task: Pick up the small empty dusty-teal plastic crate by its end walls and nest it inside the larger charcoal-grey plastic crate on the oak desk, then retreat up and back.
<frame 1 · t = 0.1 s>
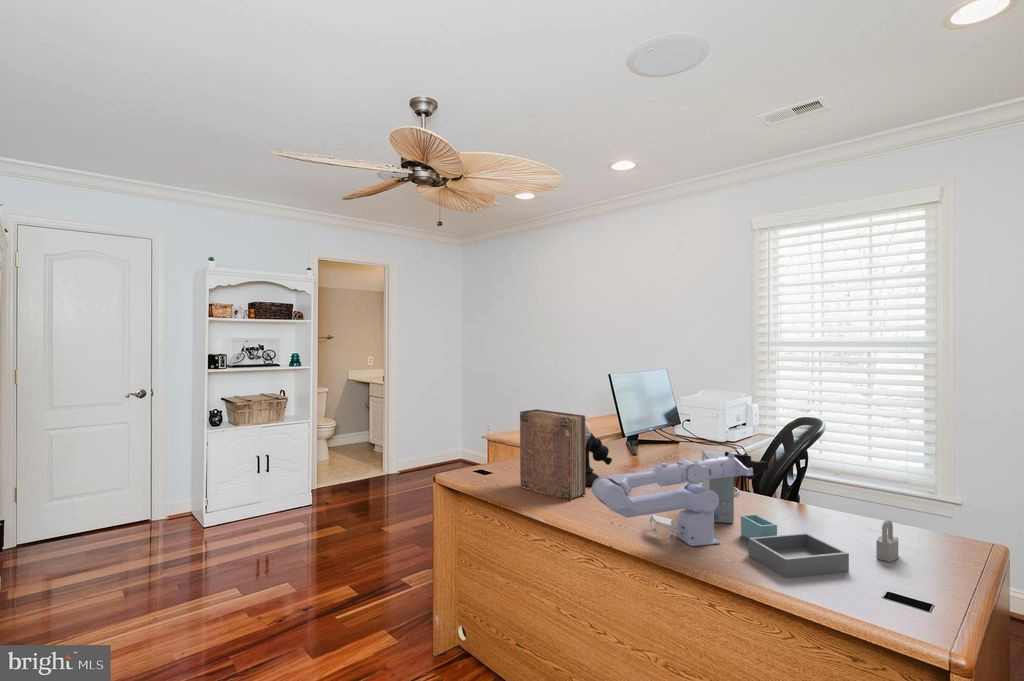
hand: (758, 462, 154), 22 cm above the table, tool horizontal, fingers open, 7 cm apart
hard drive box: (717, 516, 171), on the table
book: (552, 492, 198), on the table
grey crate: (796, 562, 135), on the table
sculpture: (590, 480, 214), on the table
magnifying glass: (701, 496, 194), on the table
padlock: (887, 558, 138), on the table
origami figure: (662, 536, 154), on the table
teal mini crate: (758, 540, 149), on the table
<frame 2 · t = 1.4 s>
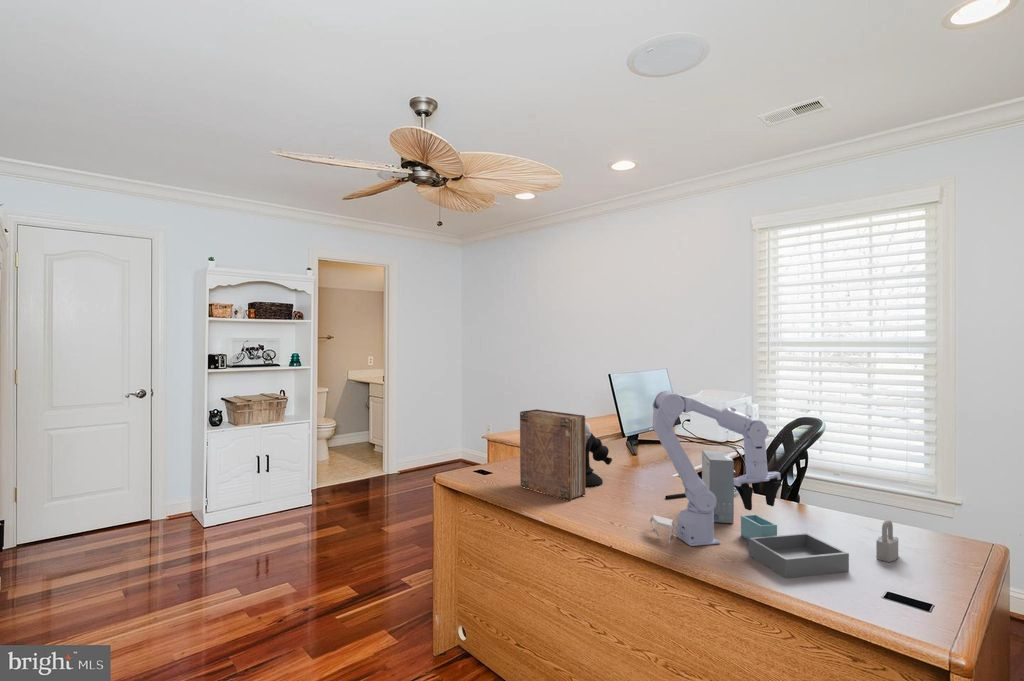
hand: (759, 507, 150), 10 cm above the table, tool pointing down, fingers open, 7 cm apart
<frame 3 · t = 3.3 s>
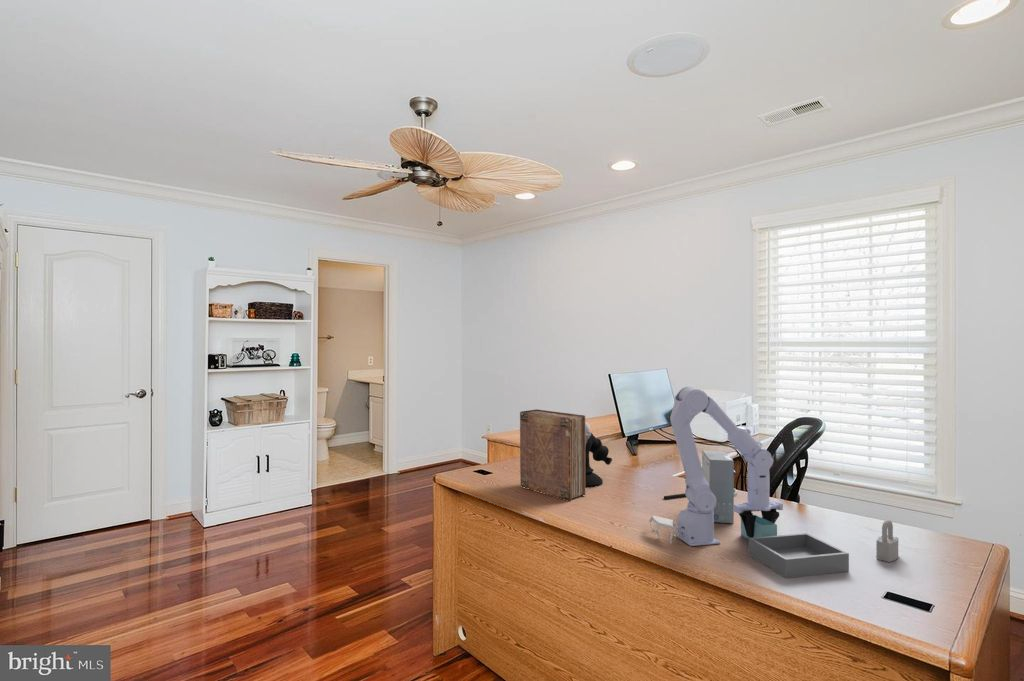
hand: (758, 535, 149), 1 cm above the table, tool pointing down, fingers closed on teal mini crate, 5 cm apart
teal mini crate: (758, 540, 149), on the table, touching gripper
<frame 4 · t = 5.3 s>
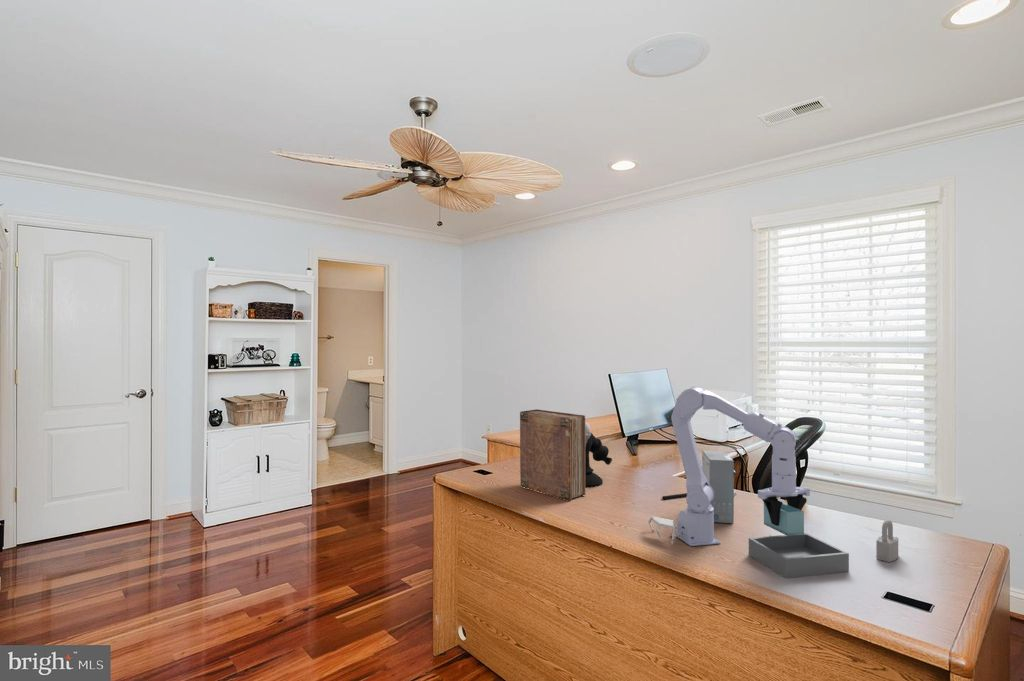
hand: (784, 523, 139), 9 cm above the table, tool pointing down, fingers closed on teal mini crate, 5 cm apart
teal mini crate: (783, 529, 140), point 7 cm above the table, touching gripper
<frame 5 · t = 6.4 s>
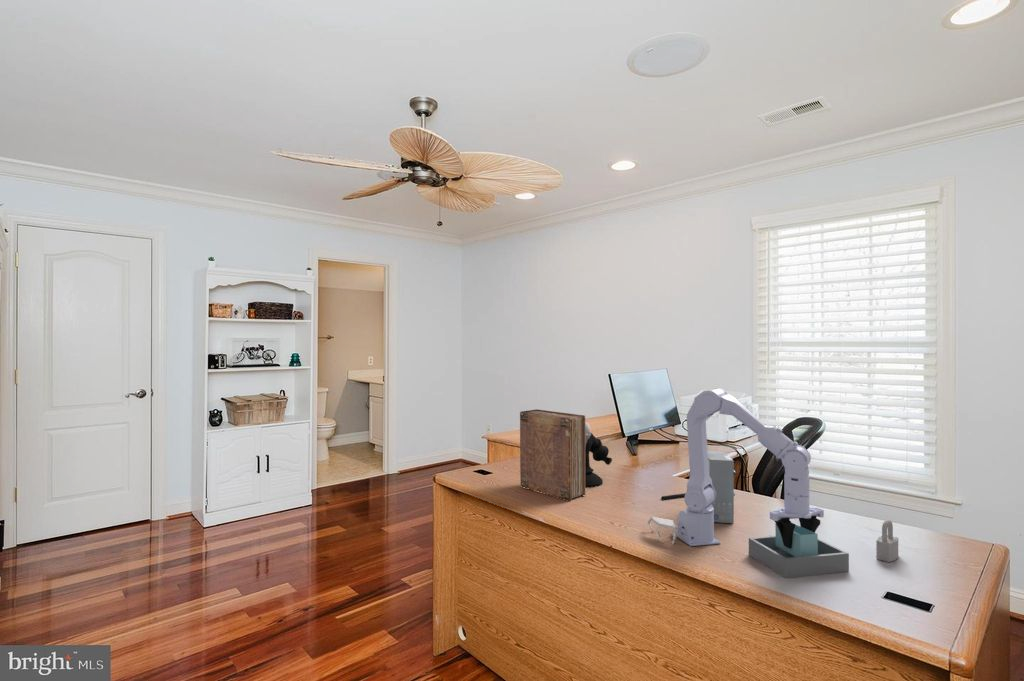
hand: (796, 546, 135), 4 cm above the table, tool pointing down, fingers closed on teal mini crate, 5 cm apart
teal mini crate: (796, 551, 135), point 3 cm above the table, touching gripper
when the fingers open (4 cm above the table, at t = 7.4 s): teal mini crate drops 1 cm, resting on grey crate.
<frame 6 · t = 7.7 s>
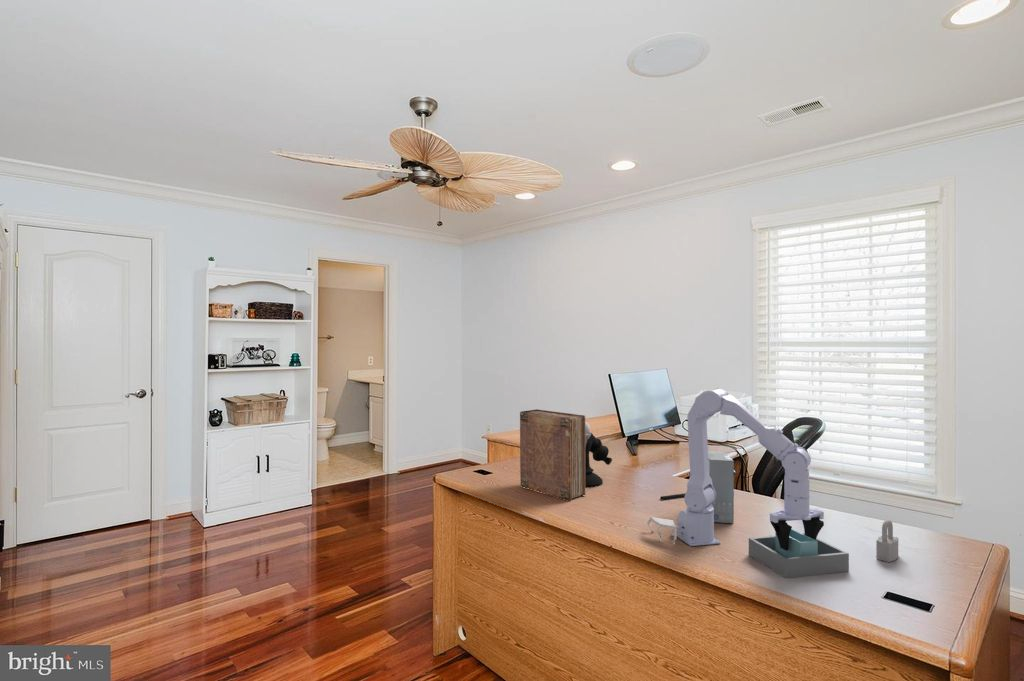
hand: (796, 547, 135), 4 cm above the table, tool pointing down, fingers open, 7 cm apart
teal mini crate: (795, 558, 135), point 1 cm above the table, touching grey crate
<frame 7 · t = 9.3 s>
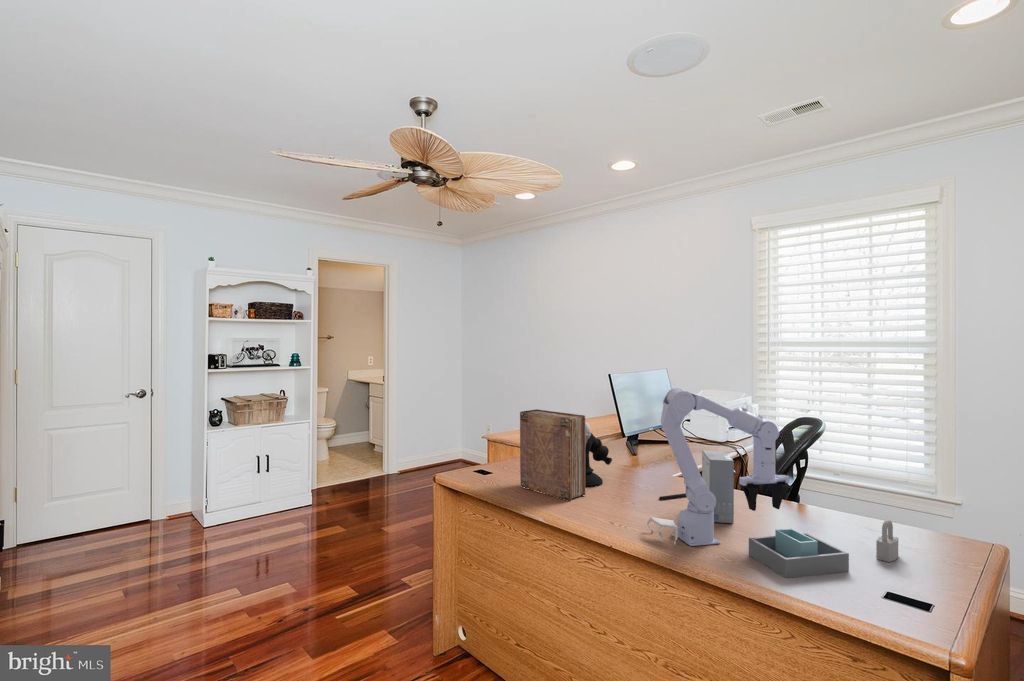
hand: (764, 508, 149), 9 cm above the table, tool pointing down, fingers open, 7 cm apart
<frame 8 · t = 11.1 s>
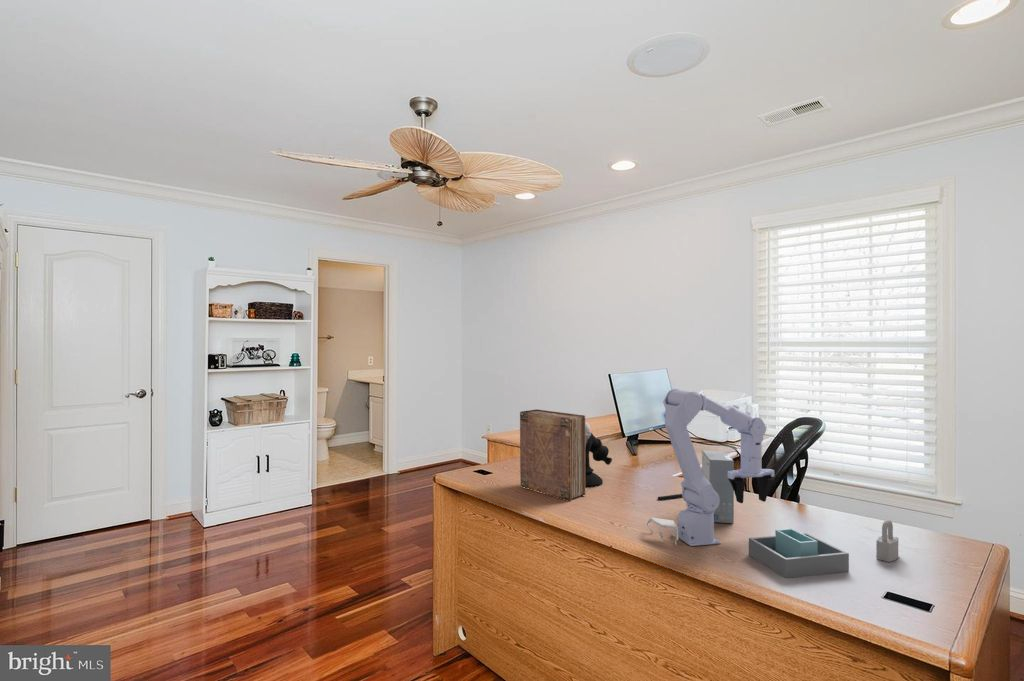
hand: (751, 501, 156), 9 cm above the table, tool pointing down, fingers open, 7 cm apart
at the end: teal mini crate inside the target area on the grey crate (0.3 cm from its centre), point 1.0 cm above the grey crate's base; teal mini crate tilted 0°; the gripper is holding nothing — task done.
